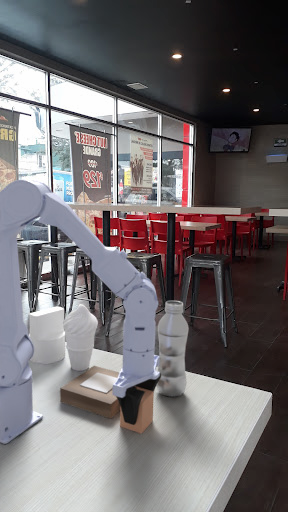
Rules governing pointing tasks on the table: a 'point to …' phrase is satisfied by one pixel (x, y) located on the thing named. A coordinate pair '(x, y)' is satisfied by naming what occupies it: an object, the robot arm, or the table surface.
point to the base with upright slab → (47, 335)
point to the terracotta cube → (141, 413)
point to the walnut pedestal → (92, 392)
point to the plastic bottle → (172, 350)
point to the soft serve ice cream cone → (80, 337)
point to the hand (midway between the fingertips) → (136, 415)
